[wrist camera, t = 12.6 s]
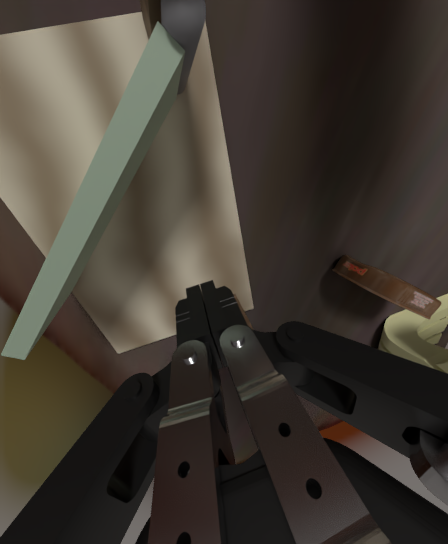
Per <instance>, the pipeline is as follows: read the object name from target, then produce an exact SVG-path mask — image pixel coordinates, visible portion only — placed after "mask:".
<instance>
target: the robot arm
mask: <svg viewBox="0 0 448 544" xmlns="http://www.w3.org/2000/svg"><path fill="white" fill-rule="evenodd" d="M200 287H201V288H200ZM186 295H187V298H185V299H182V300H179V301H178V303H177V305H176V307H175V314H176V334H177V349H176V350H175V351H174V353H173V356H172V361H171V362H170V363H169V364H168V365H167V366H166V367H165V368H164V369H162V370H161V371H159V372H158V373H156V374H155V375H153V376H152V377H151V376H150V375H149V374H147V373H138V374H135V375H133V376H131V377H129V378H128V379H127V380H126V381H125V382H123V384H122V385H121V386H120V387H119V388H118V390H117V391H116V392H115V393H114V395H113V396H112V397H111V399H110V400H109V401H108V402H107V403H106V405H105V406H104V407H103V408H102V410H101V411H100V412H99V414H98V415H97V416H96V417H95V419H94V420H93V421H92V422H91V424H90V425H89V426H88V428H87V429H86V430H85V431H84V432H83V434H82V435H81V436H80V438H79V439H78V440H77V441H76V443H75V444H74V445H73V446H72V448H71V449H70V450H69V452H68V453H67V454H66V455H65V457H64V458H63V459H62V460H61V462H60V463H59V464H58V465H57V467H56V468H55V469H54V470H53V472H52V473H51V474H50V475H49V477H48V478H47V479H46V480H45V482H44V483H43V484H42V485H41V487H40V488H39V489H38V491H37V492H36V493H35V494H34V496H33V497H32V498H31V499H30V501H29V502H28V503H27V505H26V506H25V507H24V508H23V509H22V511H21V512H20V513H19V515H18V516H17V517H16V518H15V520H14V521H13V522H12V523H11V525H10V526H9V527H8V528H7V530H6V531H5V532H4V533H3V535H2V536H1V537H0V544H120V543H121V541H122V539H123V537H124V535H125V533H126V531H127V529H128V527H129V526H130V524H131V521H132V520H133V518H134V516H135V514H136V512H137V510H138V508H139V506H140V504H141V502H142V500H143V498H144V496H145V494H146V492H147V490H148V488H149V486H150V484H151V482H152V480H153V478H154V485H153V496H152V506H151V516H150V518H149V519H148V521H147V522H146V524H145V526H144V528H143V530H142V531H141V533H140V535H139V537H138V539H137V542H136V543H135V544H448V514H447V513H446V512H444V511H443V510H441V509H440V508H438V507H437V506H435V505H434V504H432V503H431V502H429V501H428V500H426V499H425V498H423V497H422V496H420V495H419V494H417V493H416V492H414V491H413V490H411V489H410V488H408V487H407V486H405V485H404V484H402V483H401V482H399V481H398V480H396V479H395V478H393V477H392V476H390V475H389V474H387V473H386V472H384V471H382V470H381V469H380V468H378V467H377V466H375V465H374V464H372V463H371V462H369V461H368V460H366V459H365V458H364V457H362V456H361V455H359V454H358V453H356V452H355V451H353V450H351V449H350V448H348V447H346V446H344V445H342V444H340V443H338V442H335V441H333V440H330V439H327V438H323V437H322V436H321V434H320V432H319V431H318V429H317V427H316V426H315V424H314V423H313V421H312V419H311V418H310V416H309V415H308V413H307V411H306V410H305V408H304V406H303V405H302V403H301V402H300V400H299V398H298V397H297V395H299V396H301V397H303V398H304V399H306V400H308V401H310V402H311V403H313V404H315V405H317V406H319V407H320V408H322V409H324V410H326V411H327V412H329V413H331V414H333V415H334V416H336V417H338V418H340V419H341V420H343V421H345V422H347V423H348V424H350V425H352V426H354V427H355V428H357V429H359V430H361V431H362V432H364V433H366V434H368V435H370V436H371V437H373V438H375V439H376V440H378V441H380V442H382V443H383V444H385V445H387V446H389V447H391V448H392V449H394V450H396V451H398V452H399V453H401V454H403V455H405V456H406V457H408V458H410V462H411V465H412V468H413V470H414V472H415V474H416V475H417V477H418V478H419V480H420V481H421V482H422V483H423V485H424V486H425V487H426V488H427V489H428V490H429V491H430V492H431V493H432V494H433V495H434V496H436V497H437V498H438V499H440V500H441V501H442V502H444V503H445V504H446V505H448V373H445V372H442V371H439V370H436V369H433V368H430V367H428V366H425V365H422V364H419V363H416V362H413V361H410V360H408V359H405V358H402V357H399V356H396V355H393V354H390V353H387V352H385V351H382V350H379V349H376V348H373V347H370V346H367V345H365V344H362V343H359V342H356V341H353V340H350V339H347V338H345V337H342V336H339V335H336V334H333V333H330V332H327V331H325V330H322V329H319V328H316V327H313V326H310V325H307V324H304V323H301V322H296V321H292V322H287V323H284V324H283V325H281V326H280V327H279V328H278V330H277V332H267V333H263V332H258V331H255V330H253V329H251V328H250V327H249V326H248V325H247V323H246V321H245V319H244V317H243V314H242V312H241V310H240V308H239V306H238V304H237V301H236V299H235V298H234V295H233V293H232V291H231V290H230V289H229V288H228V287H226V286H222V287H219V288H215V285H214V282H213V280H211V281H207V282H204V283H201V284H200V286H199V284H198V285H195V286H192V287H189V288H186ZM220 356H221V358H220ZM221 359H222V362H223V365H224V367H226V366H228V369H229V371H230V374H231V377H232V380H233V383H234V386H235V389H236V391H237V394H238V397H239V399H240V402H241V405H242V407H243V410H244V413H245V415H246V418H247V421H248V423H249V426H250V429H251V432H252V434H253V437H254V440H255V443H256V445H257V448H258V451H257V452H256V453H255V454H254V455H252V456H251V457H250V458H249V459H248V460H246V461H245V462H244V463H242V464H237V465H236V462H235V457H234V452H233V448H232V444H231V441H230V436H229V430H228V424H227V417H226V411H225V404H224V398H223V391H222V386H221V380H220V375H219V371H218V369H221V368H223V366H222V362H221ZM295 393H296V394H297V395H296V394H295Z"/></svg>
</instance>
